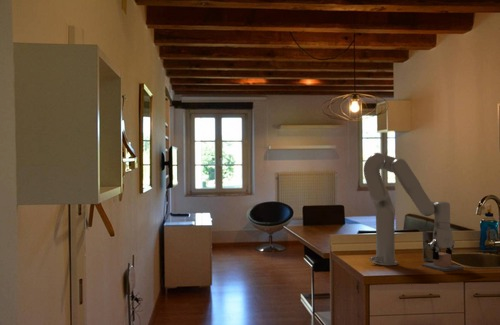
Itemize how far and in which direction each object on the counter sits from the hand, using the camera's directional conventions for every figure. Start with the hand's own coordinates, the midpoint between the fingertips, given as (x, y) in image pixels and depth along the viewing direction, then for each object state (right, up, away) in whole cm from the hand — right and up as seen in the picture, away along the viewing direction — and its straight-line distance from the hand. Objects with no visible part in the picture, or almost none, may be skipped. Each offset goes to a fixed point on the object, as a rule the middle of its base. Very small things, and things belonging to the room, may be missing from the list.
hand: (442, 258), depth 227 cm
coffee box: (+2, -5, +17) cm, 18 cm away
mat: (0, -5, 0) cm, 4 cm away
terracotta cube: (0, -4, 0) cm, 4 cm away
